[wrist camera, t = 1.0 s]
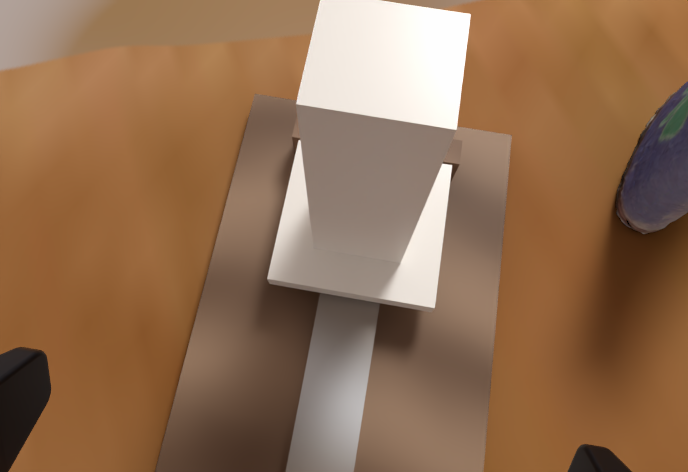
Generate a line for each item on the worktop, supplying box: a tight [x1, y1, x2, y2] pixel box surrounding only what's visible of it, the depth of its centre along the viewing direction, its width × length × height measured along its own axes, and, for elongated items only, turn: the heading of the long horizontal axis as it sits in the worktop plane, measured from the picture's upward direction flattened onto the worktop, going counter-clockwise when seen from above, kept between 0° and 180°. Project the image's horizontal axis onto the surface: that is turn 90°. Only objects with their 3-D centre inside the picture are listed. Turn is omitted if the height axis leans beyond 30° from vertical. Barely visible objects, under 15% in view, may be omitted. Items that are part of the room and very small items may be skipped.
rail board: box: [155, 94, 512, 472], centre depth 22 cm, size 20×12×3 cm, turn 170°
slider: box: [267, 0, 471, 312], centre depth 17 cm, size 6×6×11 cm
